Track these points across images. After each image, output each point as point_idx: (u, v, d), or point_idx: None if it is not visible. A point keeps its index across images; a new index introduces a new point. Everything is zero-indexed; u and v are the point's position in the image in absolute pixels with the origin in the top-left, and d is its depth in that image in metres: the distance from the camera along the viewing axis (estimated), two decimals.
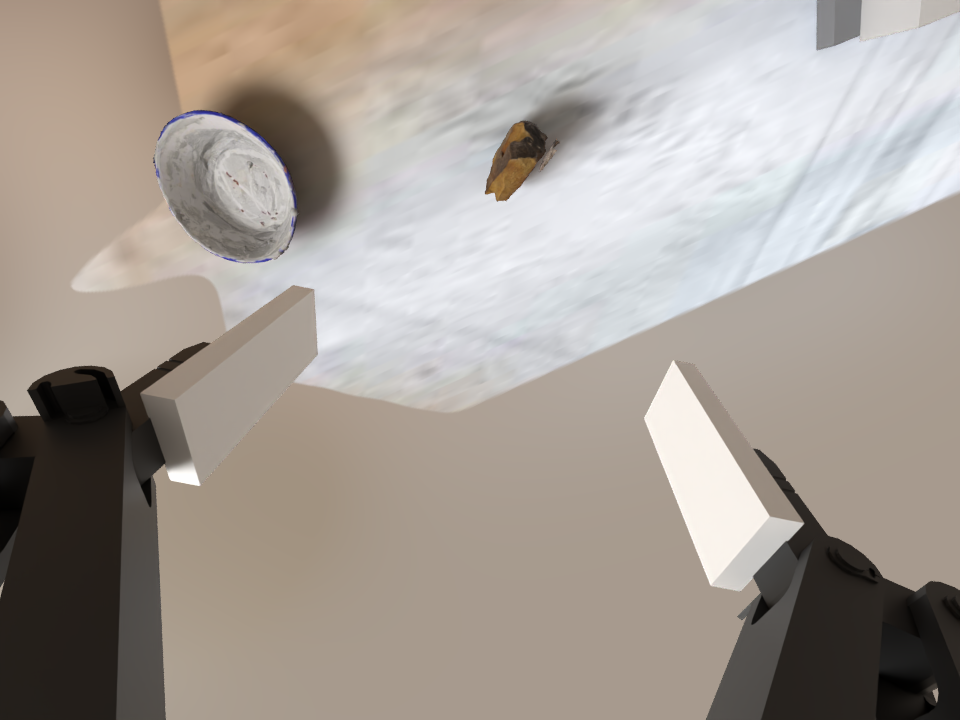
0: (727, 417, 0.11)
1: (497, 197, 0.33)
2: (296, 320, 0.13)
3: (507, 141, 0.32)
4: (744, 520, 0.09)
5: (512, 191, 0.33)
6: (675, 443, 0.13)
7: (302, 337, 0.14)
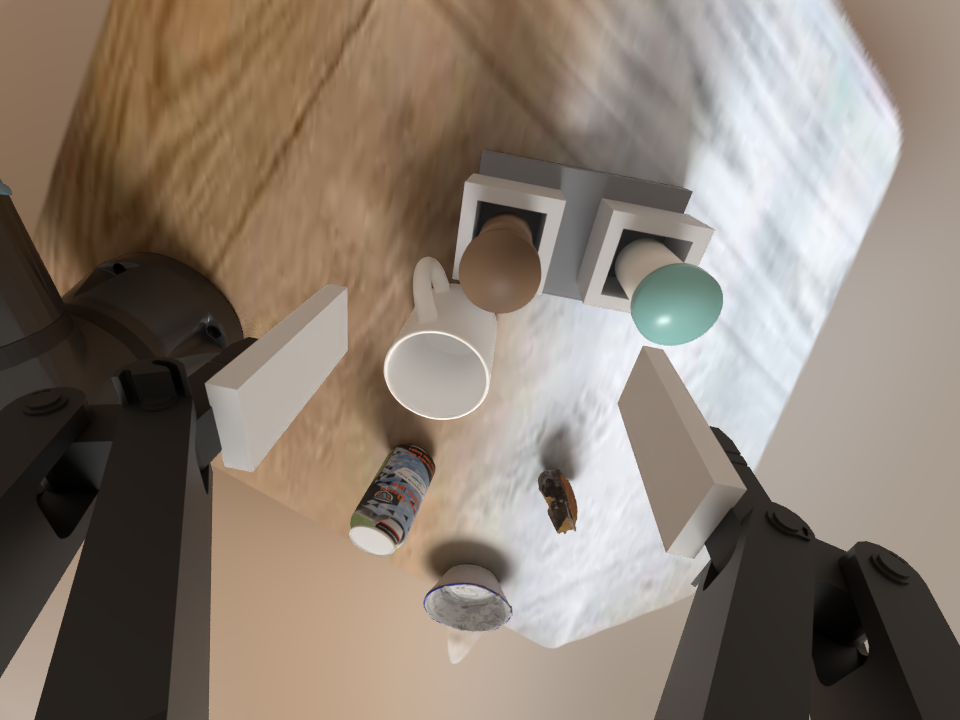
0: (688, 397, 0.12)
1: (571, 529, 0.45)
2: (332, 317, 0.14)
3: None
4: (694, 489, 0.10)
5: (575, 520, 0.45)
6: (642, 424, 0.13)
7: (336, 333, 0.14)
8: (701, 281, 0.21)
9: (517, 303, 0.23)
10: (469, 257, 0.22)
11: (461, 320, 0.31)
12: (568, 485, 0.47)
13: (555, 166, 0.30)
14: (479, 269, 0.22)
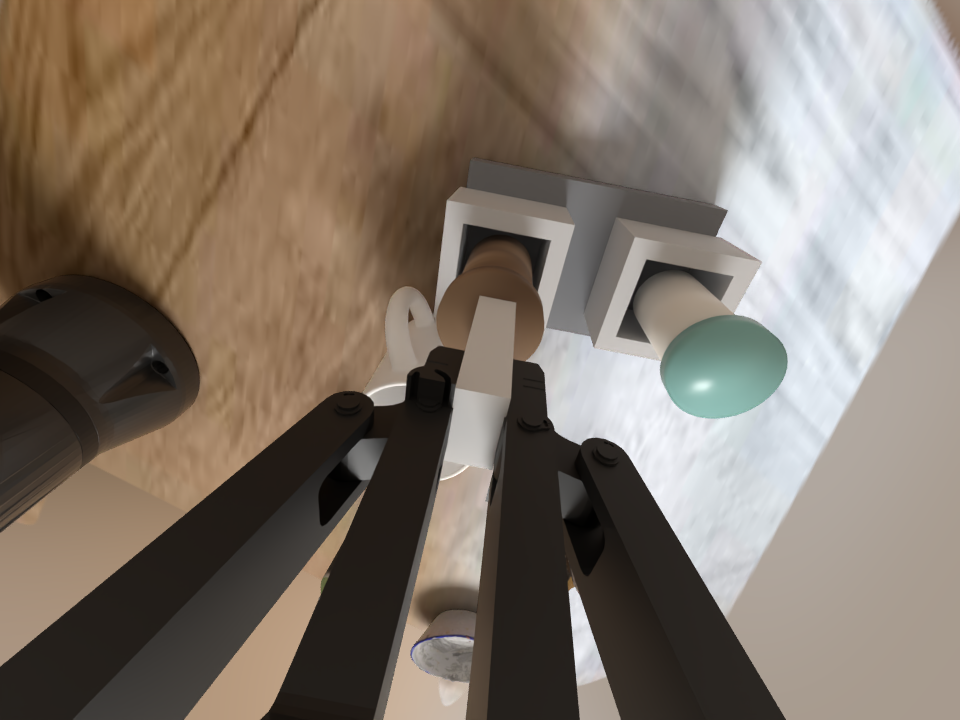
0: (510, 336, 0.13)
1: None
2: None
3: None
4: None
5: None
6: None
7: None
8: (760, 341, 0.16)
9: None
10: (450, 303, 0.17)
11: None
12: None
13: (560, 179, 0.24)
14: (463, 318, 0.17)
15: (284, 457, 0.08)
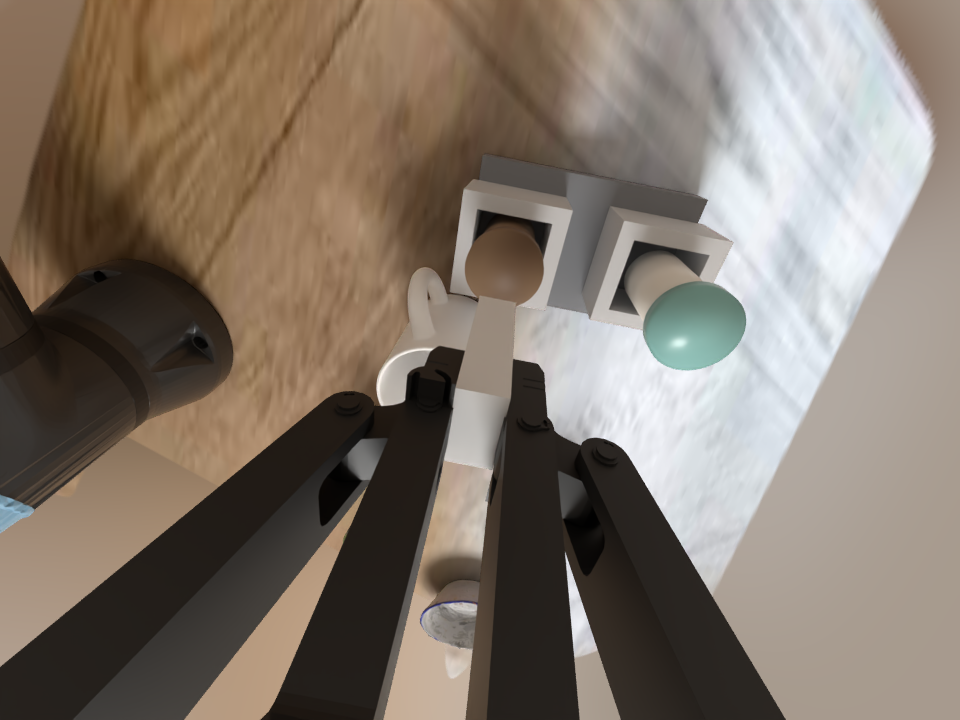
0: (510, 336, 0.13)
1: None
2: None
3: None
4: None
5: None
6: None
7: None
8: (722, 302, 0.19)
9: (520, 298, 0.24)
10: (475, 254, 0.23)
11: (459, 336, 0.29)
12: None
13: (561, 172, 0.28)
14: (484, 265, 0.23)
15: (284, 457, 0.08)
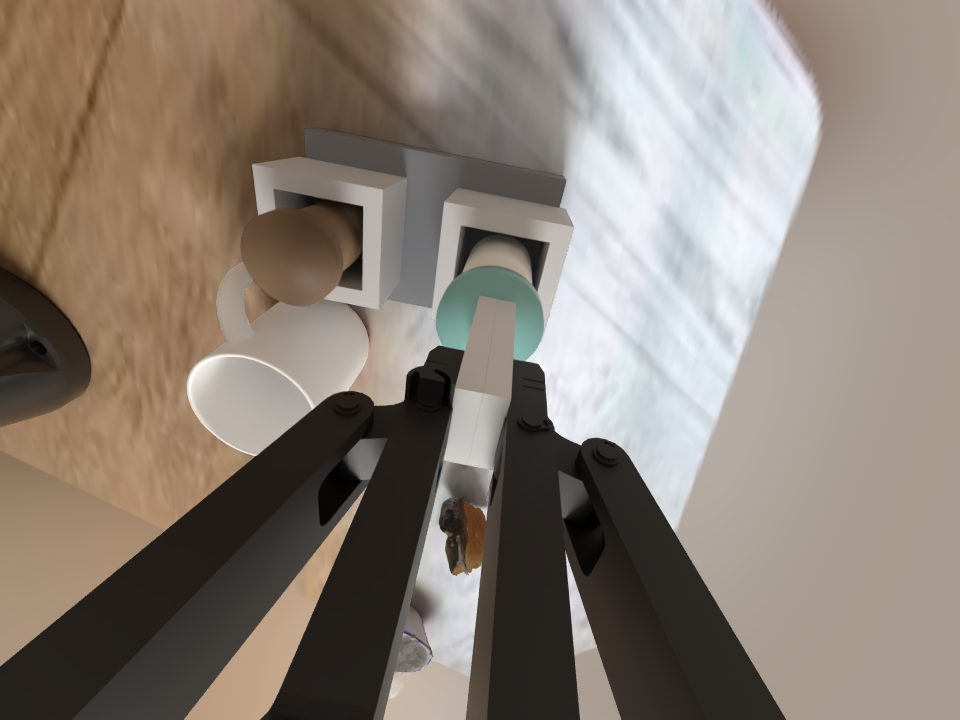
0: (511, 336, 0.13)
1: (477, 567, 0.39)
2: None
3: None
4: None
5: (479, 556, 0.38)
6: None
7: None
8: (510, 290, 0.16)
9: (316, 294, 0.20)
10: (249, 241, 0.19)
11: (285, 339, 0.25)
12: (476, 515, 0.41)
13: (395, 148, 0.24)
14: (264, 255, 0.19)
15: (284, 457, 0.08)
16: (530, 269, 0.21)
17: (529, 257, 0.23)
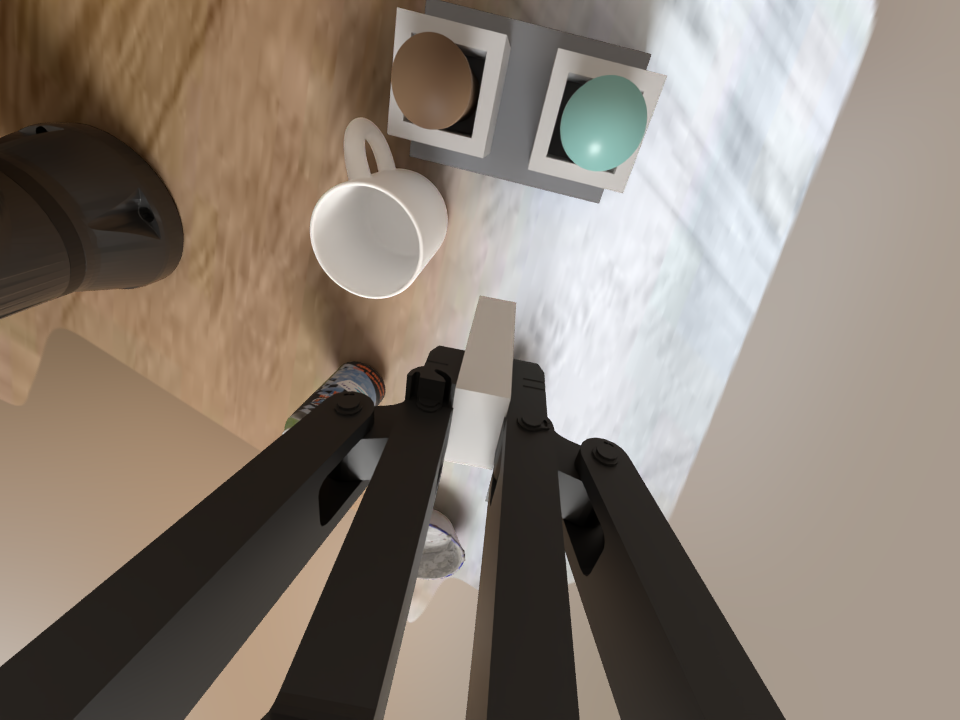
0: (510, 336, 0.13)
1: None
2: None
3: None
4: None
5: None
6: None
7: None
8: (625, 91, 0.21)
9: (448, 117, 0.24)
10: (401, 61, 0.22)
11: (397, 184, 0.28)
12: None
13: (505, 18, 0.28)
14: (411, 76, 0.23)
15: (284, 457, 0.08)
16: None
17: None
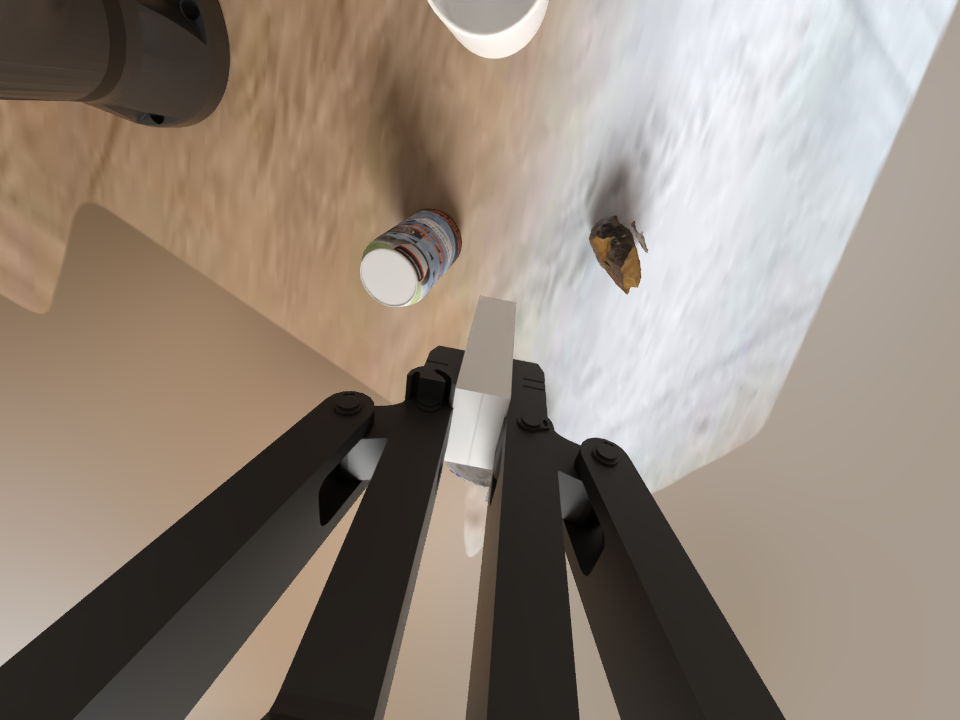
0: (510, 336, 0.13)
1: (636, 286, 0.36)
2: None
3: (600, 253, 0.37)
4: None
5: (640, 271, 0.36)
6: None
7: None
8: None
9: None
10: None
11: None
12: None
13: None
14: None
15: (284, 457, 0.08)
16: None
17: None
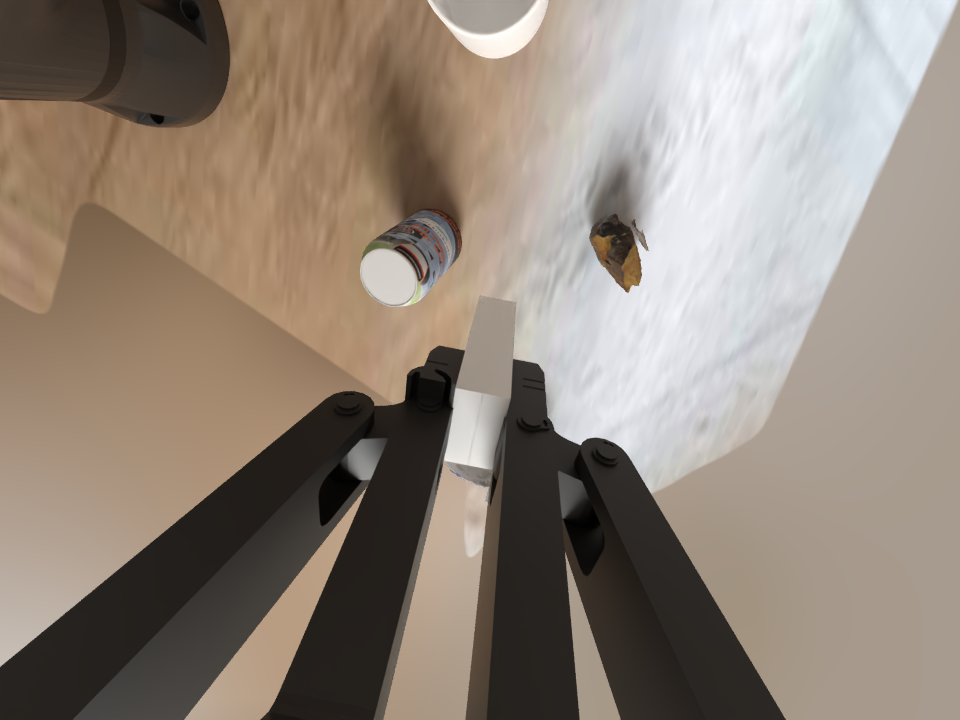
0: (510, 336, 0.13)
1: (636, 284, 0.36)
2: None
3: (600, 252, 0.37)
4: None
5: (640, 269, 0.36)
6: None
7: None
8: None
9: None
10: None
11: None
12: None
13: None
14: None
15: (284, 457, 0.08)
16: None
17: None
